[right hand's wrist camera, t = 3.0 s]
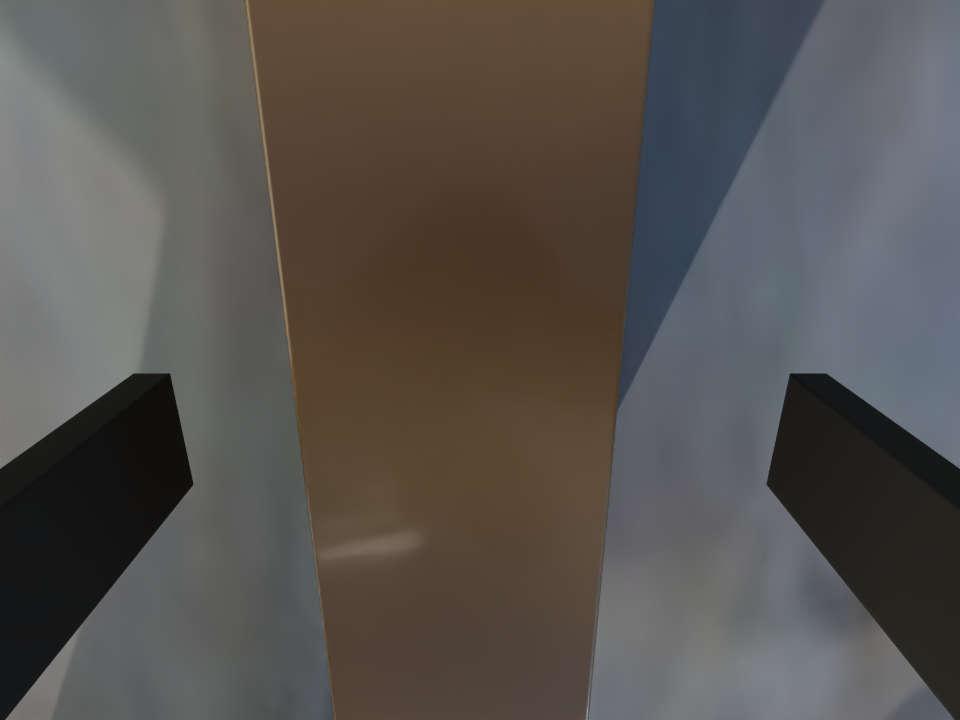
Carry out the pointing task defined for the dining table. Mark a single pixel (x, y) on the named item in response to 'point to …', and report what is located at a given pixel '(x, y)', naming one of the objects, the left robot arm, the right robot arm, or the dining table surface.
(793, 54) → the dining table surface
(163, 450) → the right robot arm
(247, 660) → the dining table surface
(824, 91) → the dining table surface
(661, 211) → the dining table surface
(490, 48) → the bar
